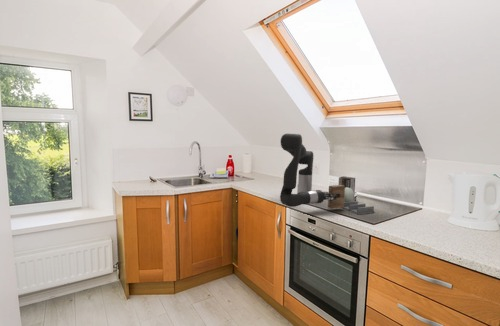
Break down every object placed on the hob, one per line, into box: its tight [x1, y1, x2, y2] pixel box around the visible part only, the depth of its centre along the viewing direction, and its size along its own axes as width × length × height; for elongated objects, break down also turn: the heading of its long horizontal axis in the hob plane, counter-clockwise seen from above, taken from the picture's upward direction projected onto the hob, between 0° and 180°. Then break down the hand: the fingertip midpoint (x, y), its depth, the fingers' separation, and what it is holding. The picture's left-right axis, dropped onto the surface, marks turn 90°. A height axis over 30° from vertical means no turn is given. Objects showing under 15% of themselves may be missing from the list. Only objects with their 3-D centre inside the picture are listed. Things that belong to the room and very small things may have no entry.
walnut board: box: [327, 184, 345, 210], centre depth 168 cm, size 4×9×13 cm, turn 113°
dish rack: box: [341, 200, 375, 215], centre depth 172 cm, size 21×12×4 cm, turn 23°
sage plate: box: [344, 187, 355, 202], centre depth 177 cm, size 1×11×11 cm, turn 113°
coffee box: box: [338, 176, 356, 202], centre depth 191 cm, size 9×6×16 cm
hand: (337, 194), depth 168 cm, fingers closed on walnut board, 3 cm apart
